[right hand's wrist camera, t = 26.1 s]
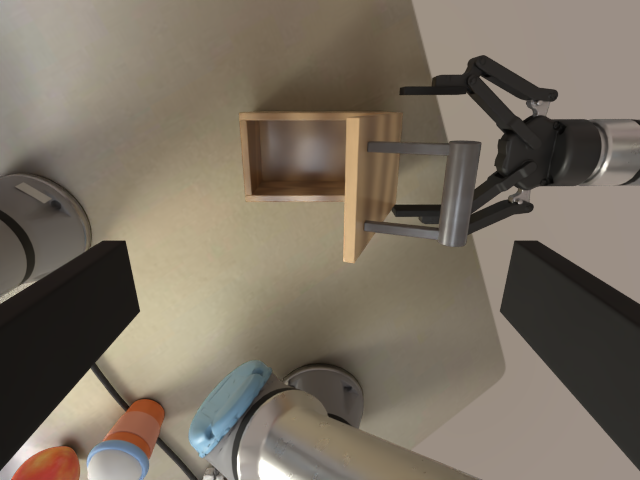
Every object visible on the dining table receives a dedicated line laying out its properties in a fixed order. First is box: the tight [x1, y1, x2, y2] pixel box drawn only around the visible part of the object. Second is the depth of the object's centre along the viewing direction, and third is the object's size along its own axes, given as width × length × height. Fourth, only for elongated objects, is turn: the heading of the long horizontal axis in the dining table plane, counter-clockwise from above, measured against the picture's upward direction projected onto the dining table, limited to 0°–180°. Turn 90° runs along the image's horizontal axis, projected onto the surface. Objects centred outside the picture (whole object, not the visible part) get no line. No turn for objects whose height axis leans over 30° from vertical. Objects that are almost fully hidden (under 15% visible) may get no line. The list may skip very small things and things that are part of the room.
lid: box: [343, 113, 481, 263], centre depth 30 cm, size 18×10×8 cm
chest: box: [239, 111, 397, 202], centre depth 44 cm, size 17×10×9 cm, turn 90°
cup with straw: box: [87, 399, 165, 480], centre depth 56 cm, size 9×9×18 cm
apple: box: [11, 446, 80, 480], centre depth 63 cm, size 10×10×10 cm
